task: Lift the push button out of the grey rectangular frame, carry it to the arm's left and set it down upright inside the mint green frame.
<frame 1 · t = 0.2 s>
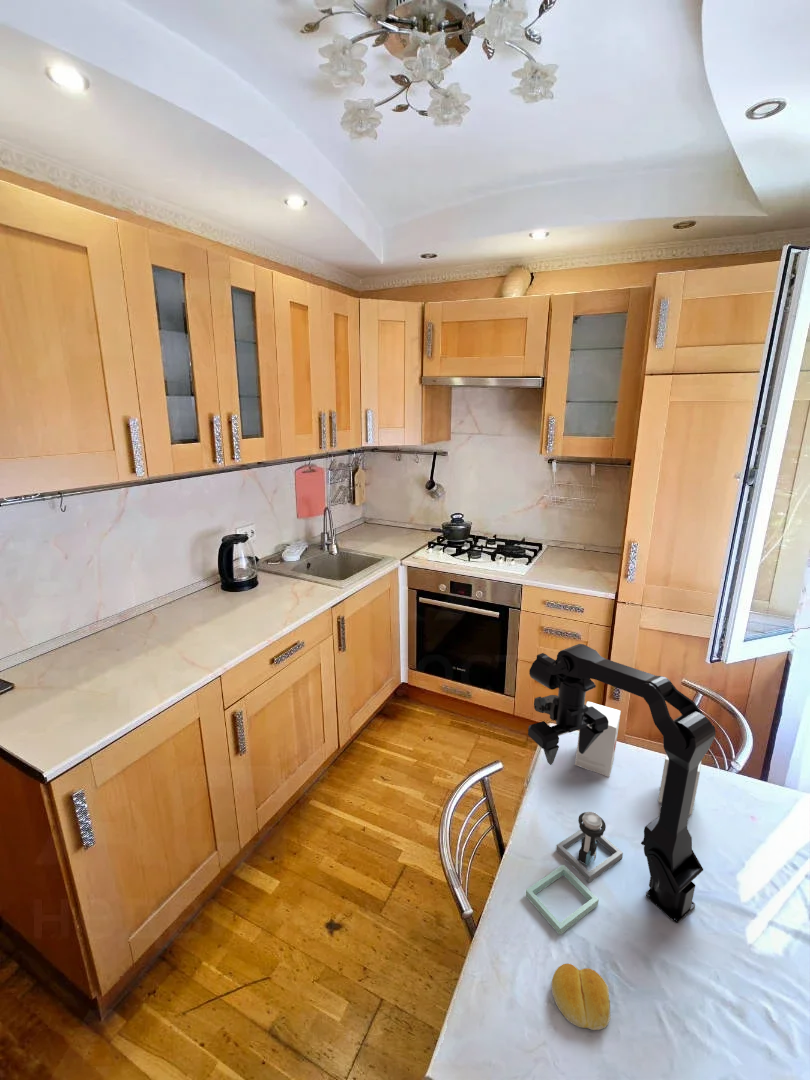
hand: (565, 758, 112), 14 cm above the table, fingers open, 9 cm apart
grey rectangular frame: (588, 854, 104), on the table
supplement box 2: (594, 762, 132), on the table
mint green frame: (561, 900, 94), on the table
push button: (588, 855, 104), on the table
supplement box: (676, 800, 119), on the table
bread roll: (581, 1001, 79), on the table
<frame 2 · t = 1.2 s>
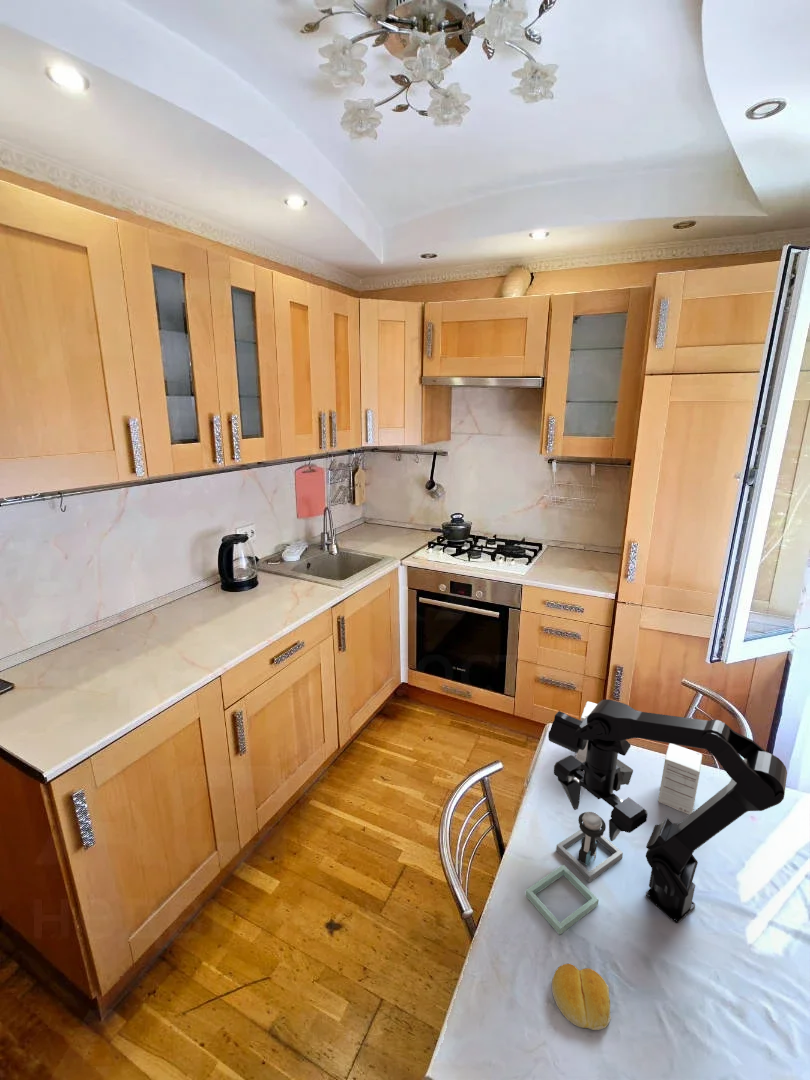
hand: (593, 823, 102), 8 cm above the table, fingers open, 9 cm apart
nothing on the table moved.
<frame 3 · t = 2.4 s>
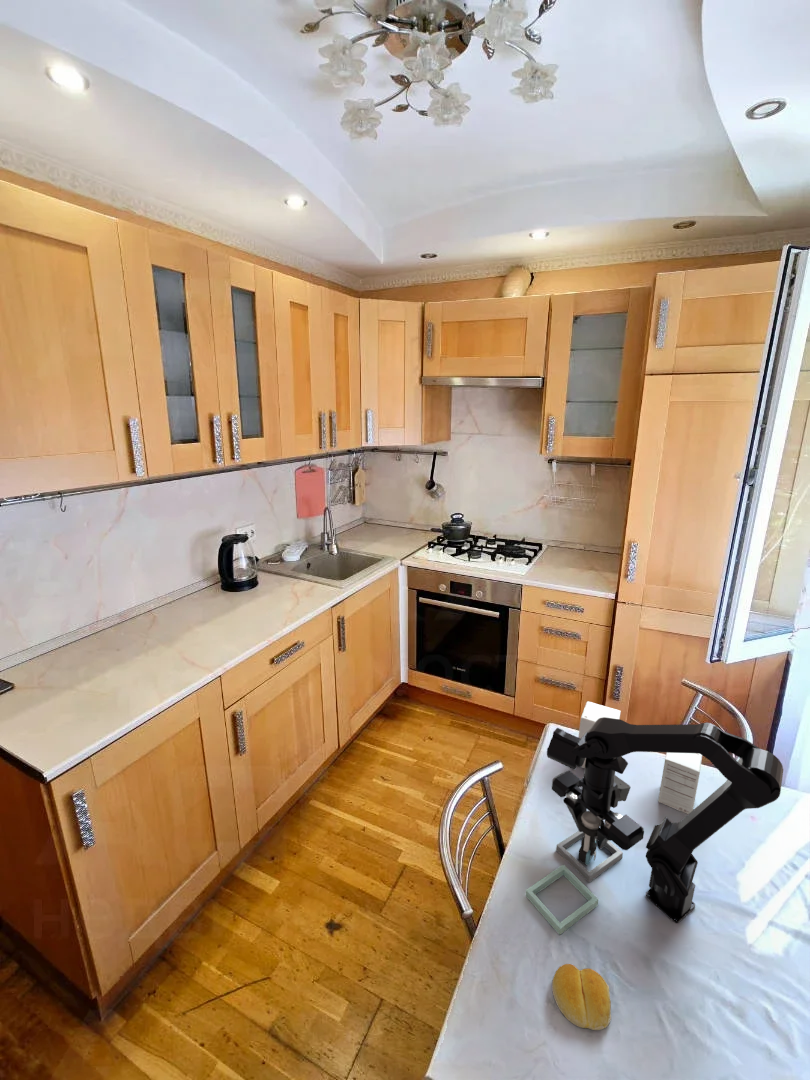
hand: (590, 839, 103), 4 cm above the table, fingers closed on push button, 5 cm apart
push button: (588, 854, 104), on the table, touching gripper
everything else where it was.
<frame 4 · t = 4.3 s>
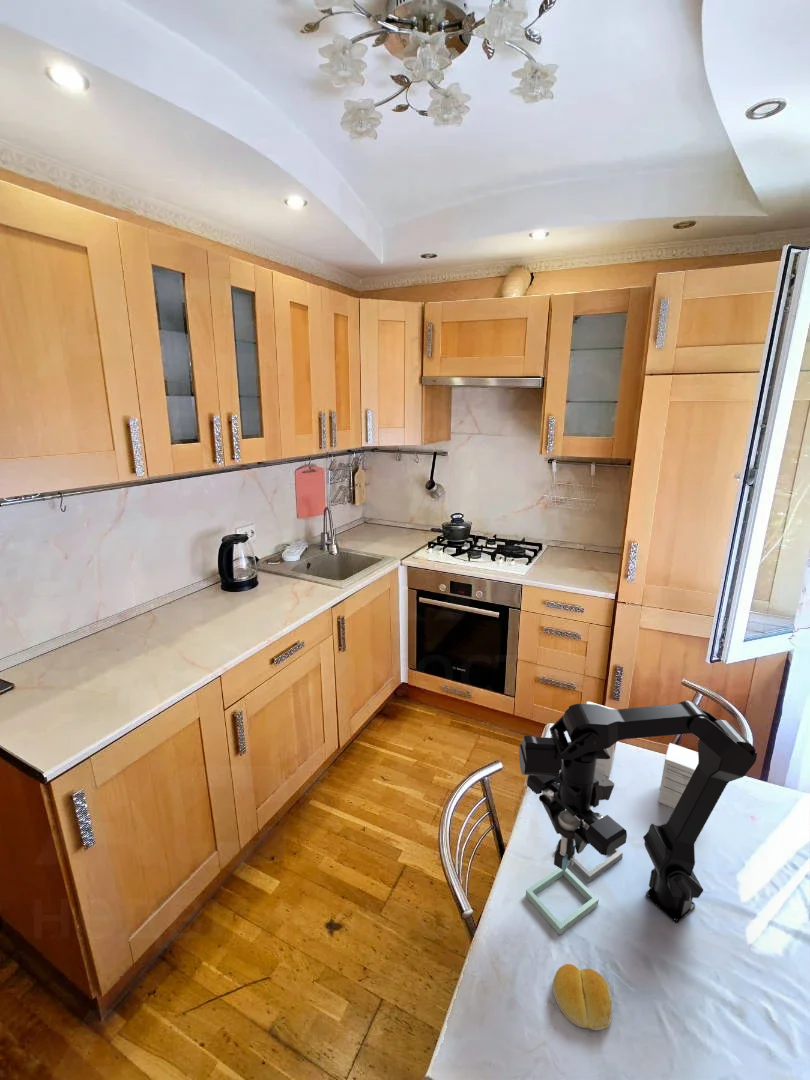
hand: (568, 842, 92), 13 cm above the table, fingers closed on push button, 5 cm apart
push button: (566, 859, 93), point 9 cm above the table, touching gripper
everything else where it was.
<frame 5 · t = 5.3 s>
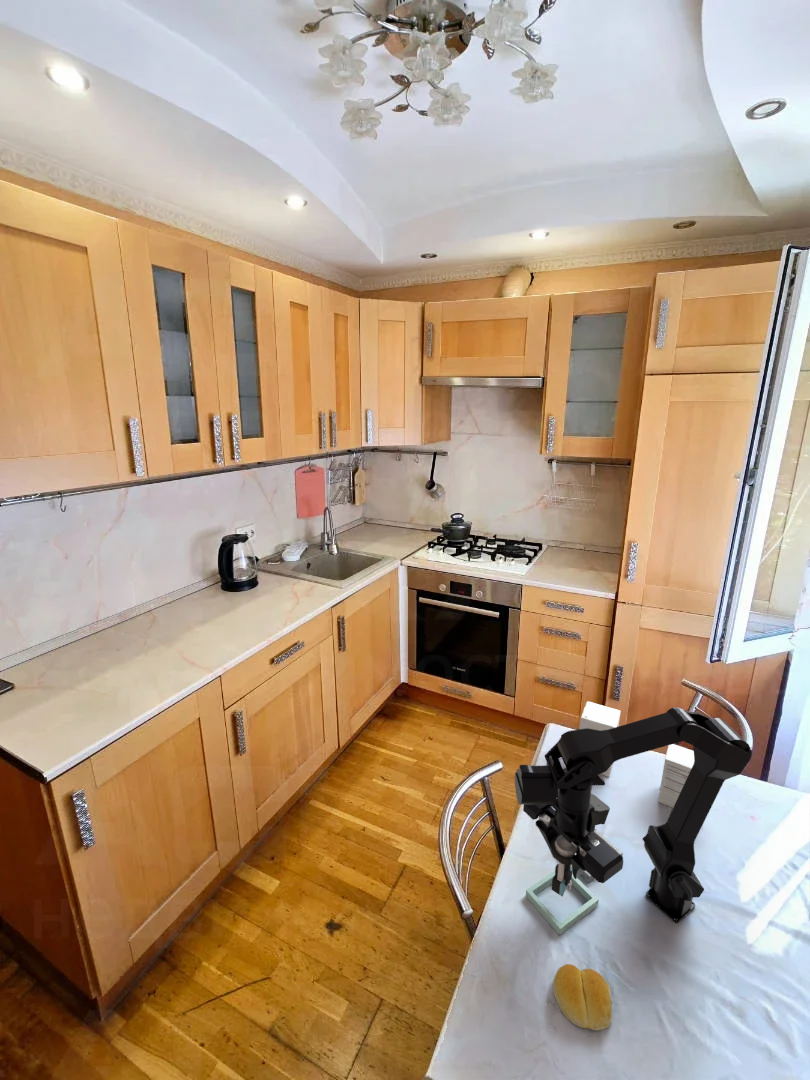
hand: (565, 867, 92), 8 cm above the table, fingers closed on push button, 5 cm apart
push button: (563, 883, 93), point 4 cm above the table, touching gripper
everything else where it was.
when the fingers open (5 cm above the table, at t = 6.3 s): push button stays where it is, on the table.
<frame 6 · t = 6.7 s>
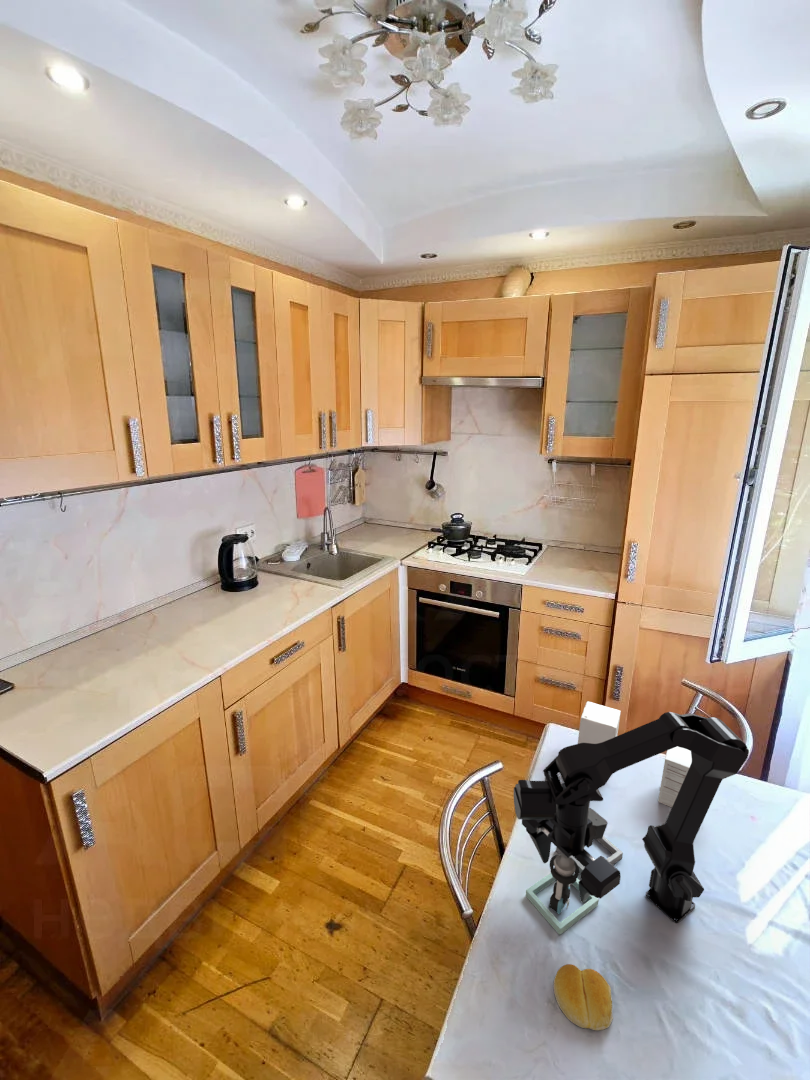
hand: (563, 880, 93), 5 cm above the table, fingers open, 9 cm apart
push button: (561, 901, 94), on the table
everything else where it was.
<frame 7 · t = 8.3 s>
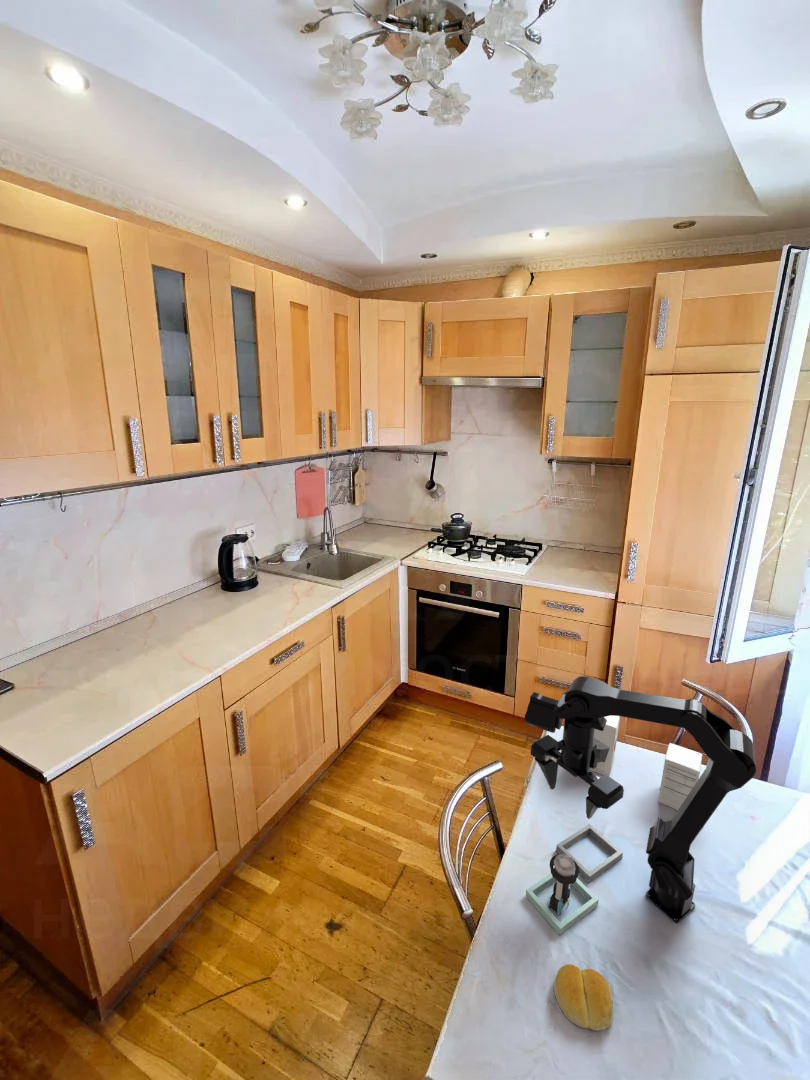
hand: (570, 802, 101), 13 cm above the table, fingers open, 9 cm apart
nothing on the table moved.
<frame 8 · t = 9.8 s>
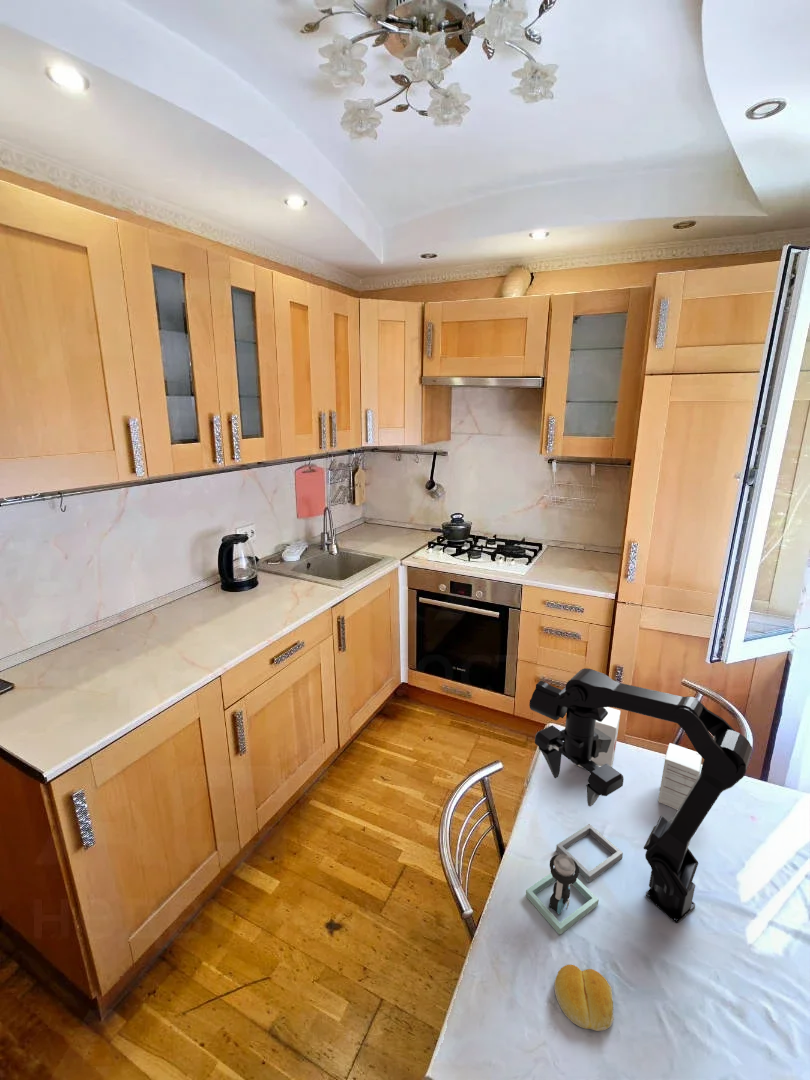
hand: (572, 790, 104), 13 cm above the table, fingers open, 9 cm apart
nothing on the table moved.
at the end: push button inside the target area on the mint green frame (0.0 cm from its centre), point 0.0 cm above the mint green frame's base; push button tilted 0°; the gripper is holding nothing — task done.
